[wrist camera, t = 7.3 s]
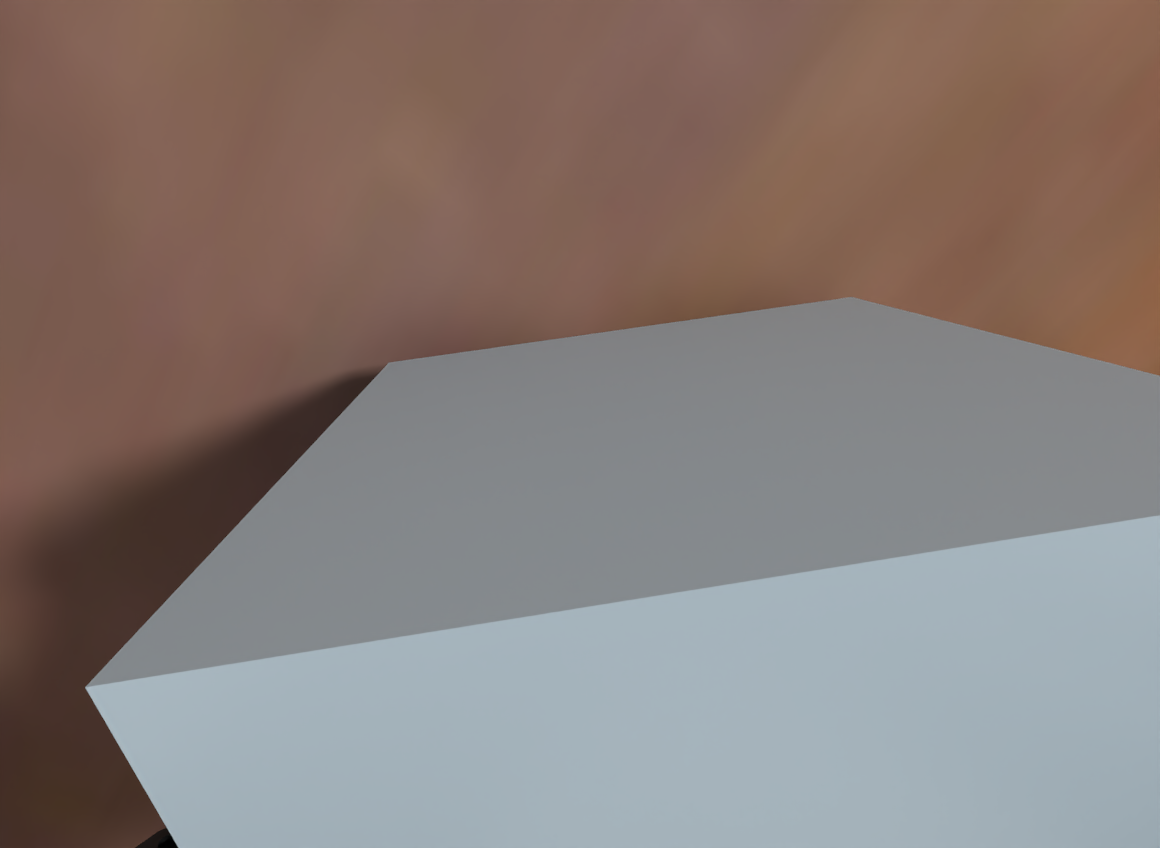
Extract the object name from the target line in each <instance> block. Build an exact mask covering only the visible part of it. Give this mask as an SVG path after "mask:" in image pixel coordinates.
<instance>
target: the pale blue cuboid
mask: <svg viewBox="0 0 1160 848" xmlns="http://www.w3.org/2000/svg"><path fill="white" fill-rule="evenodd" d="M85 688H86V690H87V691H88V693H89V695H90V697H91V698H92V700H93V702H94V704H95V705H96V707H97V709H98V710H99V712H100V714H101V716H102V717H103V719H104V721H105V722H106V724H107V726H108V728H109V729H110V731H111V733H112V734H113V736H114V738H115V740H116V741H117V743H118V745H119V746H120V748H121V750H122V752H123V753H124V755H125V757H126V758H127V760H128V762H129V764H130V765H131V767H132V769H133V770H134V772H135V774H136V776H137V777H138V779H139V781H140V783H141V784H142V786H143V788H144V789H145V791H146V793H147V795H148V796H149V798H150V800H151V801H152V803H153V805H154V807H155V808H156V810H157V812H158V813H159V815H160V817H161V819H162V820H163V822H164V824H165V825H166V827H167V829H168V831H169V832H170V834H171V836H172V837H173V839H174V841H175V843H176V844H177V846H178V848H1160V376H1158V375H1154V374H1150V373H1147V372H1143V371H1139V370H1135V369H1131V368H1127V367H1123V366H1119V365H1115V364H1111V363H1107V362H1104V361H1100V360H1096V359H1092V358H1088V357H1084V356H1080V355H1076V354H1072V353H1068V352H1064V351H1061V350H1057V349H1053V348H1049V347H1045V346H1041V345H1037V344H1033V343H1029V342H1025V341H1022V340H1018V339H1014V338H1010V337H1006V336H1002V335H998V334H994V333H990V332H986V331H982V330H979V329H975V328H971V327H967V326H963V325H959V324H955V323H951V322H947V321H943V320H939V319H936V318H932V317H928V316H924V315H920V314H916V313H912V312H908V311H904V310H900V309H896V308H893V307H889V306H885V305H881V304H877V303H873V302H869V301H865V300H861V299H857V298H853V297H849V298H842V299H835V300H828V301H821V302H814V303H806V304H799V305H792V306H785V307H778V308H771V309H764V310H757V311H750V312H743V313H736V314H729V315H722V316H715V317H708V318H701V319H694V320H687V321H680V322H672V323H665V324H658V325H651V326H644V327H637V328H630V329H623V330H616V331H609V332H602V333H595V334H588V335H581V336H574V337H567V338H560V339H553V340H546V341H538V342H531V343H524V344H517V345H510V346H503V347H496V348H489V349H482V350H475V351H468V352H461V353H454V354H447V355H440V356H433V357H426V358H419V359H412V360H405V361H397V362H390V363H388V364H387V365H386V366H385V367H384V369H383V370H382V371H381V372H380V373H379V374H378V375H377V376H376V377H375V378H374V379H373V380H372V381H371V382H370V384H369V385H368V386H367V387H366V388H365V389H364V390H363V391H362V392H361V393H360V394H359V395H358V396H357V397H356V398H355V400H354V401H353V402H352V403H351V404H350V405H349V406H348V407H347V408H346V409H345V410H344V411H343V412H342V413H341V414H340V416H339V417H338V418H337V419H336V420H335V421H334V422H333V423H332V424H331V425H330V426H329V427H328V428H327V429H326V431H325V432H324V433H323V434H322V435H321V436H320V437H319V438H318V439H317V440H316V441H315V442H314V443H313V444H312V445H311V447H310V448H309V449H308V450H307V451H306V452H305V453H304V454H303V455H302V456H301V457H300V458H299V459H298V460H297V461H296V463H295V464H294V465H293V466H292V467H291V468H290V469H289V470H288V471H287V472H286V473H285V474H284V475H283V476H282V478H281V479H280V480H279V481H278V482H277V483H276V484H275V485H274V486H273V487H272V488H271V489H270V490H269V491H268V492H267V494H266V495H265V496H264V497H263V498H262V499H261V500H260V501H259V502H258V503H257V504H256V505H255V506H254V507H253V508H252V510H251V511H250V512H249V513H248V514H247V515H246V516H245V517H244V518H243V519H242V520H241V521H240V522H239V523H238V525H237V526H236V527H235V528H234V529H233V530H232V531H231V532H230V533H229V534H228V535H227V536H226V537H225V538H224V539H223V541H222V542H221V543H220V544H219V545H218V546H217V547H216V548H215V549H214V550H213V551H212V552H211V553H210V554H209V556H208V557H207V558H206V559H205V560H204V561H203V562H202V563H201V564H200V565H199V566H198V567H197V568H196V569H195V570H194V572H193V573H192V574H191V575H190V576H189V577H188V578H187V579H186V580H185V581H184V582H183V583H182V584H181V585H180V586H179V588H178V589H177V590H176V591H175V592H174V593H173V594H172V595H171V596H170V597H169V598H168V599H167V600H166V601H165V603H164V604H163V605H162V606H161V607H160V608H159V609H158V610H157V611H156V612H155V613H154V614H153V615H152V616H151V617H150V619H149V620H148V621H147V622H146V623H145V624H144V625H143V626H142V627H141V628H140V629H139V630H138V631H137V632H136V633H135V635H134V636H133V637H132V638H131V639H130V640H129V641H128V642H127V643H126V644H125V645H124V646H123V647H122V648H121V650H120V651H119V652H118V653H117V654H116V655H115V656H114V657H113V658H112V659H111V660H110V661H109V662H108V663H107V664H106V666H105V667H104V668H103V669H102V670H101V671H100V672H99V673H98V674H97V675H96V676H95V677H94V678H93V679H92V680H91V682H90V683H89V684H88V685H87V686H86V687H85Z"/></svg>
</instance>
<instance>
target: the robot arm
mask: <svg viewBox="0 0 1160 848" xmlns="http://www.w3.org/2000/svg"><path fill="white" fill-rule="evenodd" d="M136 848H178V846H177V844H176V843H175V841H174V839H173V837H172V836H171V834H170V832H169V831H168V829H167V828H165V829H163V830H160V831H158V832H157V833H156V834H154V835H153V836H151V837H150V838H148V839H147V840H146V841H144V842H143V843H141V844H140V845H138V846H137V847H136Z"/></svg>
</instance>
